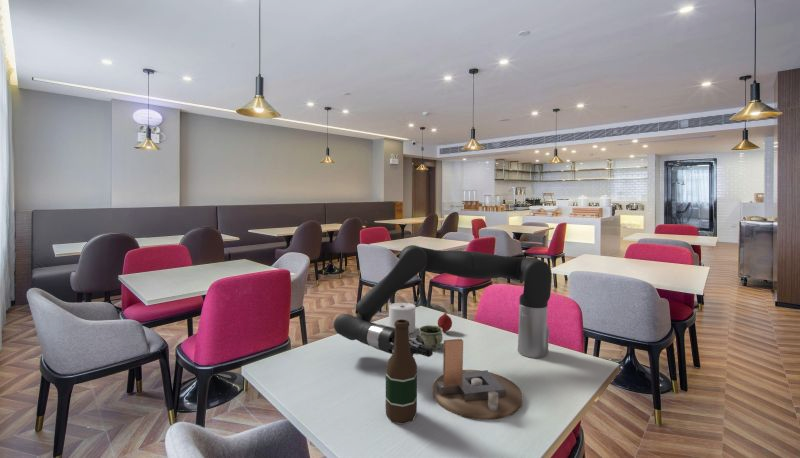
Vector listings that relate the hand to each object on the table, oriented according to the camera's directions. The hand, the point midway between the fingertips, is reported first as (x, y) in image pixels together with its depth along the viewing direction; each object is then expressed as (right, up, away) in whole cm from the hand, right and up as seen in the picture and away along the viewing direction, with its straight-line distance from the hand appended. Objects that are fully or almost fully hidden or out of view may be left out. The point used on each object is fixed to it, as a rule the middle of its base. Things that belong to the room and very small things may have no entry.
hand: (431, 352), depth 107 cm
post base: (+12, -11, -2) cm, 17 cm away
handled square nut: (+10, -9, -3) cm, 14 cm away
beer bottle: (-8, -12, -12) cm, 19 cm away
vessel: (+2, -8, +33) cm, 34 cm away
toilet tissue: (-9, -7, +49) cm, 50 cm away
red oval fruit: (+9, -7, +47) cm, 48 cm away
